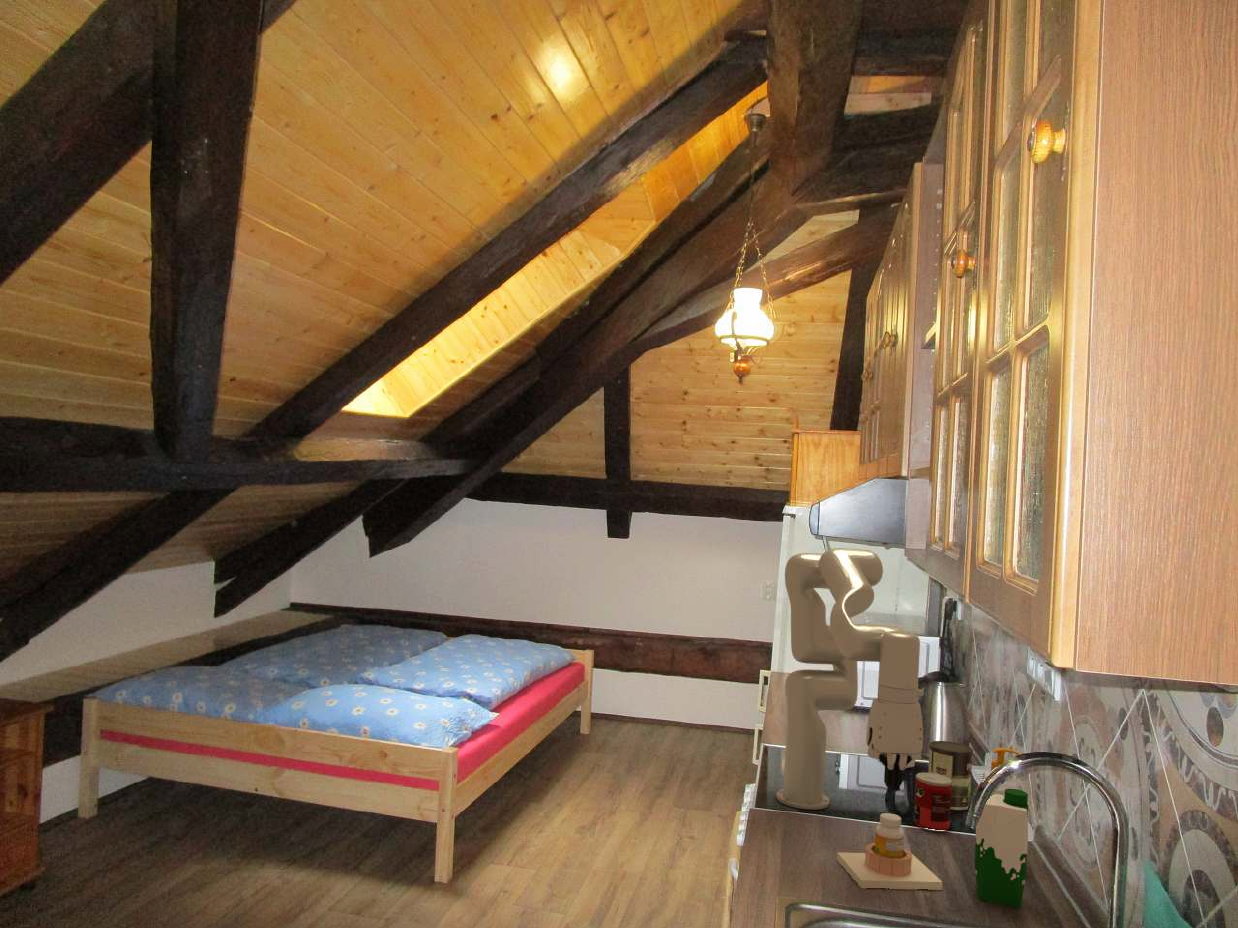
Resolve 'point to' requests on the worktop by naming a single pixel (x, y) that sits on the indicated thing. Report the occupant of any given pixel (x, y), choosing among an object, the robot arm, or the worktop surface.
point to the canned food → (932, 801)
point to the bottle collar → (888, 862)
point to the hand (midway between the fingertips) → (892, 787)
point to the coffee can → (953, 769)
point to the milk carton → (1002, 848)
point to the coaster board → (870, 878)
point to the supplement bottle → (889, 836)
